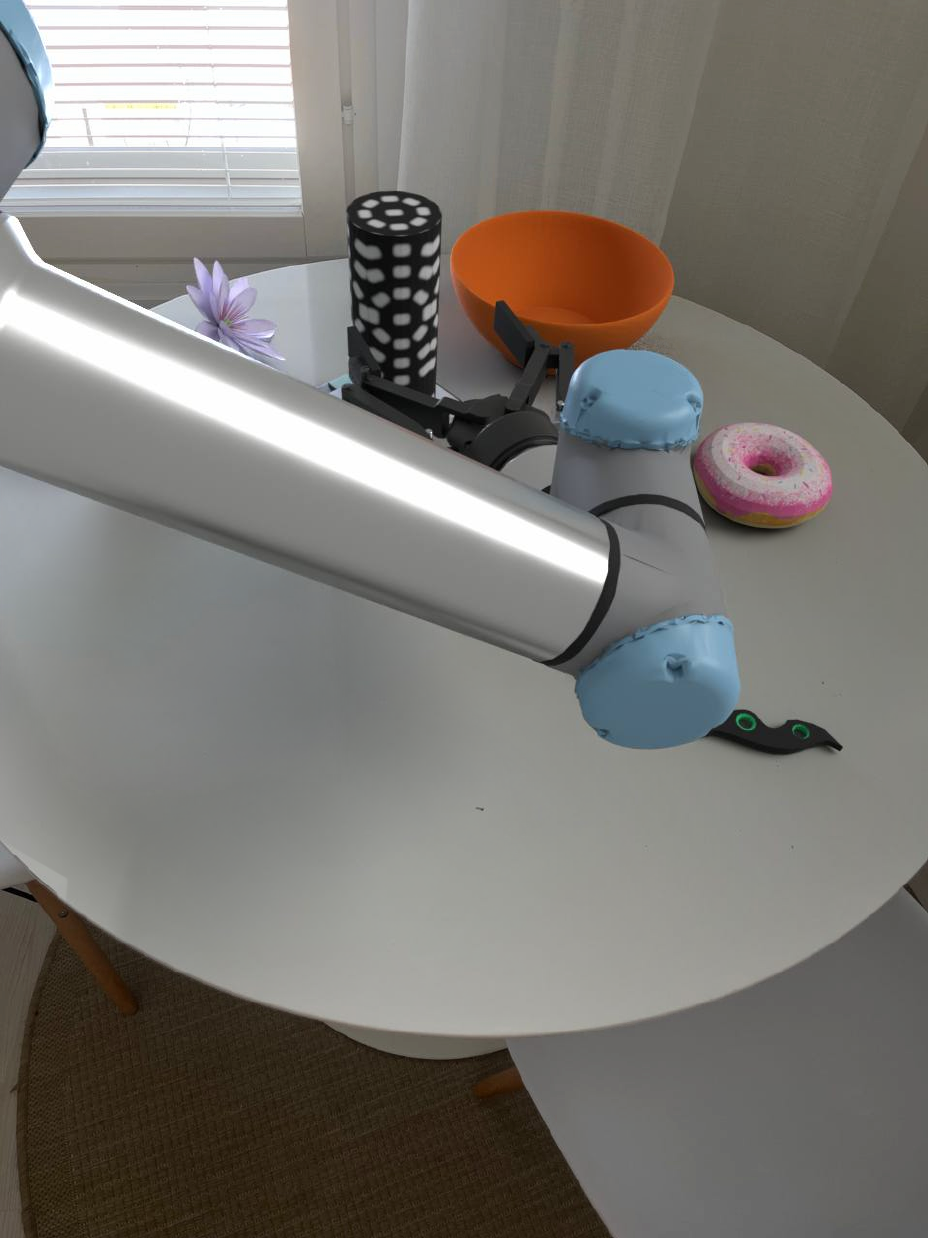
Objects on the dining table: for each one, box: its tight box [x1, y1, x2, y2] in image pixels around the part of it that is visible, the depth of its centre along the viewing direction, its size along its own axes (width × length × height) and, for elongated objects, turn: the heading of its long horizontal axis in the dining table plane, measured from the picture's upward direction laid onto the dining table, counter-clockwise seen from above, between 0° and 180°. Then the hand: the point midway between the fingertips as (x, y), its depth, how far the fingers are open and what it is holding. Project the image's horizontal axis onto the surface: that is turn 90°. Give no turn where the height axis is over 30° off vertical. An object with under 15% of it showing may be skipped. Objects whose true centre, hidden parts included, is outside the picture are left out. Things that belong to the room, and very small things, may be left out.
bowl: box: [449, 209, 675, 376], centre depth 105 cm, size 25×25×10 cm
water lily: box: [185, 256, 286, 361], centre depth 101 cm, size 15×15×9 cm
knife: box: [704, 708, 844, 755], centre depth 75 cm, size 23×1×5 cm
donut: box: [693, 421, 834, 529], centre depth 91 cm, size 14×13×5 cm
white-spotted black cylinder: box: [345, 190, 443, 398], centre depth 87 cm, size 8×8×20 cm
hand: (426, 326), depth 79 cm, fingers open, 13 cm apart
